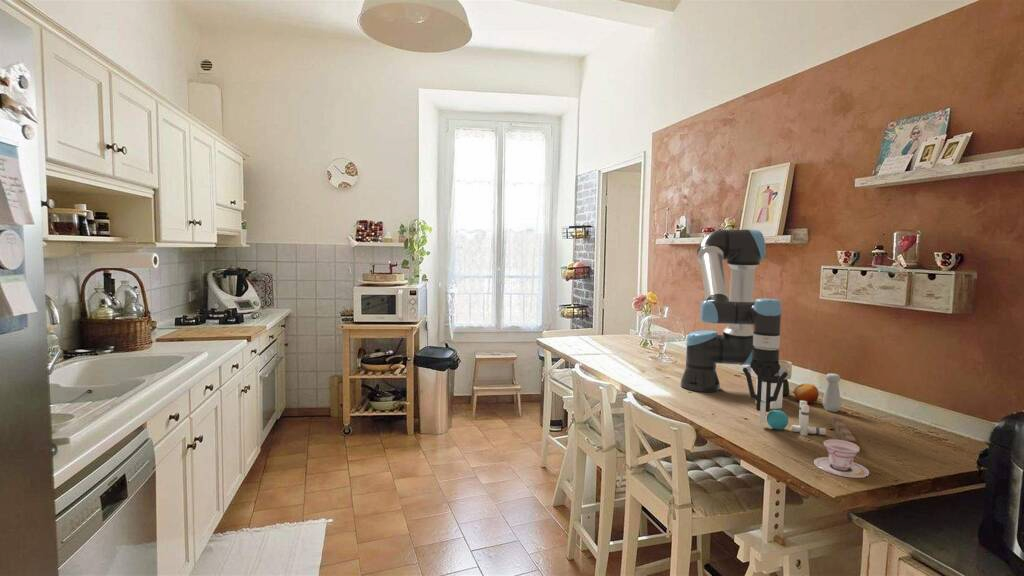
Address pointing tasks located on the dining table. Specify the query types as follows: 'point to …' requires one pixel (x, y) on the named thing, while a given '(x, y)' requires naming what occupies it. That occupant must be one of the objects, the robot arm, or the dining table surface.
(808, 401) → the fruit
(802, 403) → the pin
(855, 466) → the teacup
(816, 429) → the front pin
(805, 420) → the pin
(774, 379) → the jar
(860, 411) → the dining table surface
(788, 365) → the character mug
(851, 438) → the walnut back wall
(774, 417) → the teal ball
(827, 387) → the salt shaker
